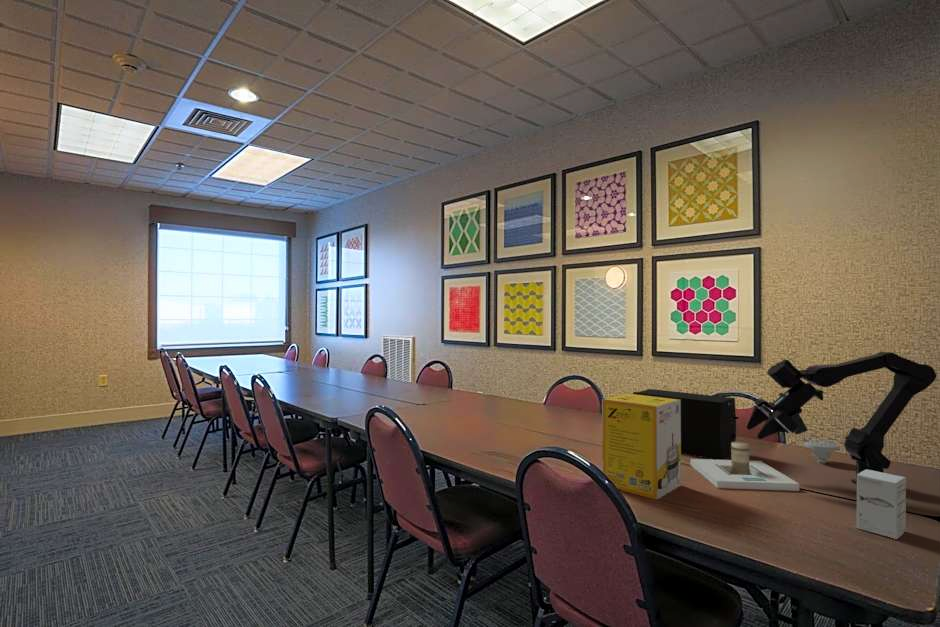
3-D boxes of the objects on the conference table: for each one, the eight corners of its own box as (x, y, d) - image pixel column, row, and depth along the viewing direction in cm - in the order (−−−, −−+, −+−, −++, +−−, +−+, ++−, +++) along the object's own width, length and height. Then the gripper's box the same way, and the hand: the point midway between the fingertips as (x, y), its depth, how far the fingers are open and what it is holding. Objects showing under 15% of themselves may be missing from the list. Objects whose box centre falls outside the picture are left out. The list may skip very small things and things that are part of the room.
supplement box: (855, 528, 110) (854, 473, 110) (866, 521, 114) (865, 468, 115) (897, 541, 104) (896, 482, 104) (907, 532, 108) (906, 476, 109)
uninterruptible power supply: (651, 437, 197) (650, 388, 197) (741, 453, 173) (740, 398, 173) (631, 444, 186) (631, 392, 186) (725, 462, 161) (725, 403, 162)
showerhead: (803, 435, 169) (838, 440, 163) (803, 456, 169) (839, 461, 163) (801, 441, 161) (839, 445, 155) (802, 462, 161) (839, 468, 155)
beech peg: (752, 479, 145) (752, 446, 145) (736, 478, 145) (735, 445, 145) (744, 474, 149) (744, 441, 150) (728, 473, 150) (728, 441, 150)
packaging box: (628, 472, 151) (628, 393, 151) (681, 485, 139) (680, 399, 139) (602, 485, 139) (601, 399, 140) (656, 500, 128) (656, 406, 128)
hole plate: (799, 490, 135) (799, 483, 135) (717, 487, 137) (717, 480, 137) (760, 467, 156) (760, 460, 157) (690, 464, 159) (690, 458, 159)
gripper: (831, 427, 133) (786, 463, 136) (801, 410, 151) (762, 442, 154) (800, 398, 134) (756, 435, 137) (773, 384, 152) (735, 417, 155)
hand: (753, 433), depth 146 cm, fingers open, 9 cm apart
